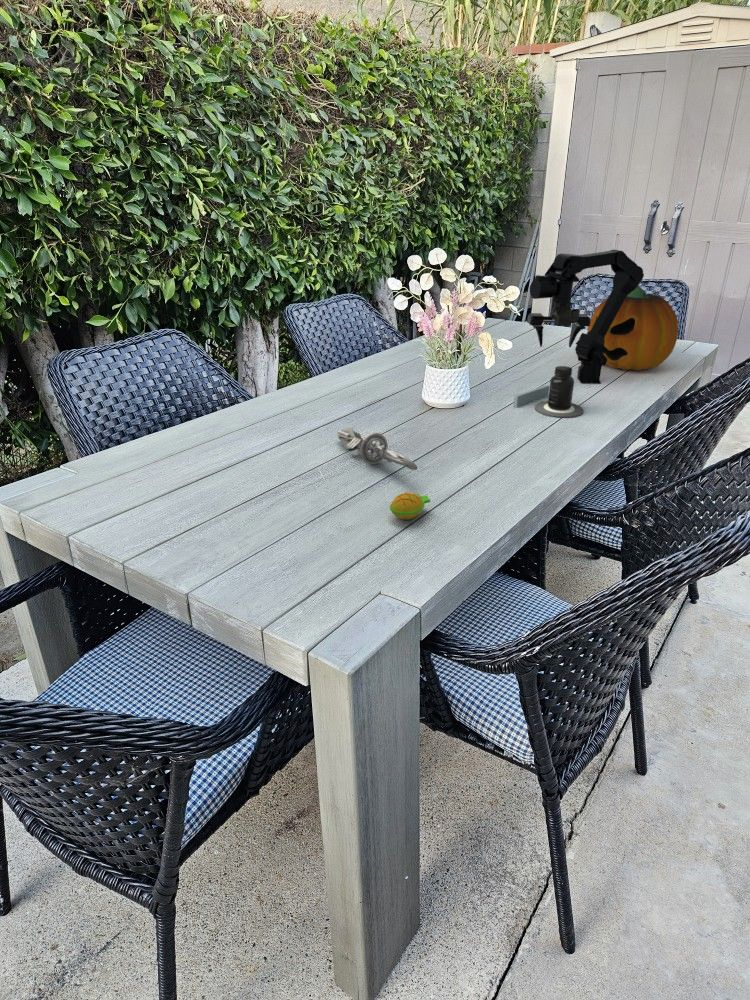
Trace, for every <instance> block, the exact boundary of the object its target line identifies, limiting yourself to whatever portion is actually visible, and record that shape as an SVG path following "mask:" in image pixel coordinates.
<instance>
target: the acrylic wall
mask: <svg viewBox="0 0 750 1000" xmlns="http://www.w3.org/2000/svg"><path fill="white" fill-rule="evenodd" d="M549 388H550V385H548V384H545V385H542V386H539V387H536V388H533V389H530V390H527V391H523V392H521V393H517V394H515V395H514V399H513V407H514V408H519V407H522V406H524V405H528V404H530V403H534V402H536V401H539V400H542V399H545V398H548V397H549Z"/></svg>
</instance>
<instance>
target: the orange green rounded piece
mask: <svg viewBox="0 0 750 1000" xmlns="http://www.w3.org/2000/svg"><path fill="white" fill-rule="evenodd" d="M428 497H429V496H428V495H420V494H419V493H415V492H408V491H407V492H403V493H400V494H398V495H396V497H395V498H394V499H392V501H391V503H390V505H389V510H390V511H391V513H392V514H393V515H394V516H395V517H396V518H398V519H399V520H405V521H406V520H411V519H414V518H416V517H417V516H419V515H420V513H421V512H422V510H423V509H424V508H425V504H427V503H428V504H429V503H430V502H431V499H430V498H428Z"/></svg>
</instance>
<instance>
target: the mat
mask: <svg viewBox="0 0 750 1000" xmlns="http://www.w3.org/2000/svg"><path fill="white" fill-rule="evenodd" d="M534 410H535V411H536V412H537V413H539V414H541V415H543V416H545V417H550V418H551V417H552V418H556V419H558V418H560V419H569V418H570V419H571V418H578V417H580V416H581V415H583V413H584V409H583V407H582V406H581V405H579V404H576V403H574V402H572V403H571V408H570V409H568V410H564V411H558V410H553V409H550V408H549V407H548V400H544V401H540V402H537V403H536V404H535V405H534Z"/></svg>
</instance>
